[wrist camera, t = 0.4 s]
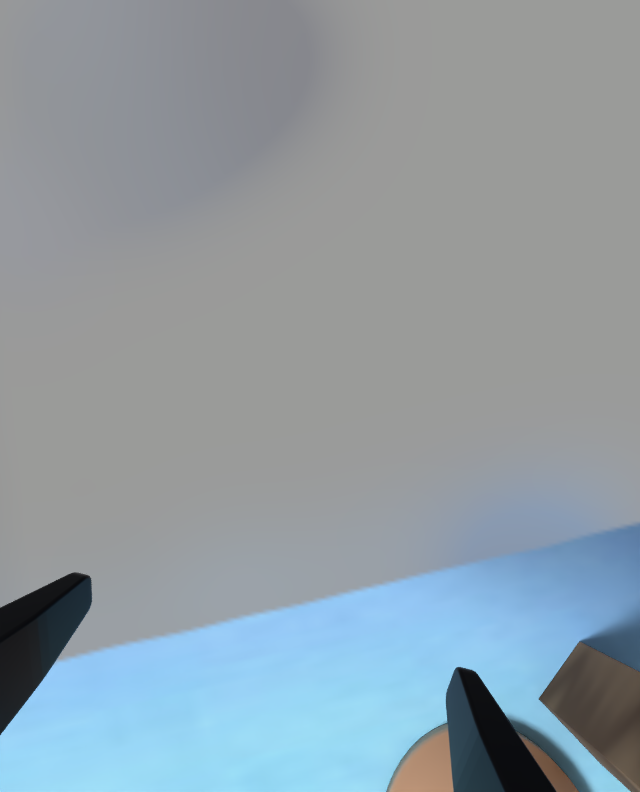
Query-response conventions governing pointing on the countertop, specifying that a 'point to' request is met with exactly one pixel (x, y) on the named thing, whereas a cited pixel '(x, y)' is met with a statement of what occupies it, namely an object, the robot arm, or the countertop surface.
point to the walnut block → (600, 709)
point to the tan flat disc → (431, 766)
